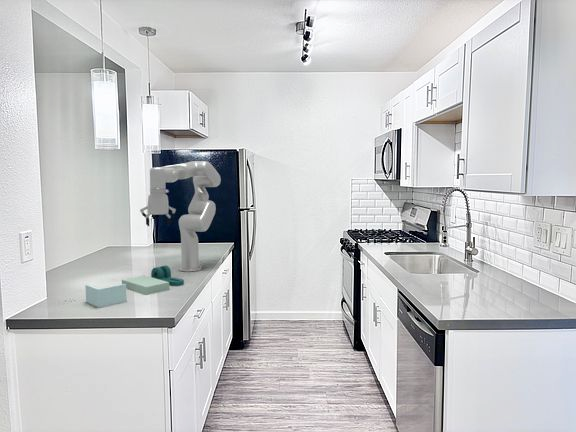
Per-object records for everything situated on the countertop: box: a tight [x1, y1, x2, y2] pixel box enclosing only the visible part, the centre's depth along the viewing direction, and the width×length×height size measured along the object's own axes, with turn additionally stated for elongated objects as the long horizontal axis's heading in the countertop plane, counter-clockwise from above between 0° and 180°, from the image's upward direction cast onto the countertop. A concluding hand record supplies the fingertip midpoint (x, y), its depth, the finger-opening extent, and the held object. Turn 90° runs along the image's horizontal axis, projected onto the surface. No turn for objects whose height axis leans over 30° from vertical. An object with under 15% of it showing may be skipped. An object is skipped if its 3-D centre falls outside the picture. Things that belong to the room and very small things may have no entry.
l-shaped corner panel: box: [84, 283, 128, 309], centre depth 183 cm, size 12×12×8 cm
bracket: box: [150, 265, 185, 287], centre depth 215 cm, size 18×7×8 cm, turn 57°
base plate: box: [121, 275, 170, 296], centre depth 205 cm, size 12×22×4 cm, turn 49°
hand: (158, 225), depth 218 cm, fingers open, 9 cm apart
